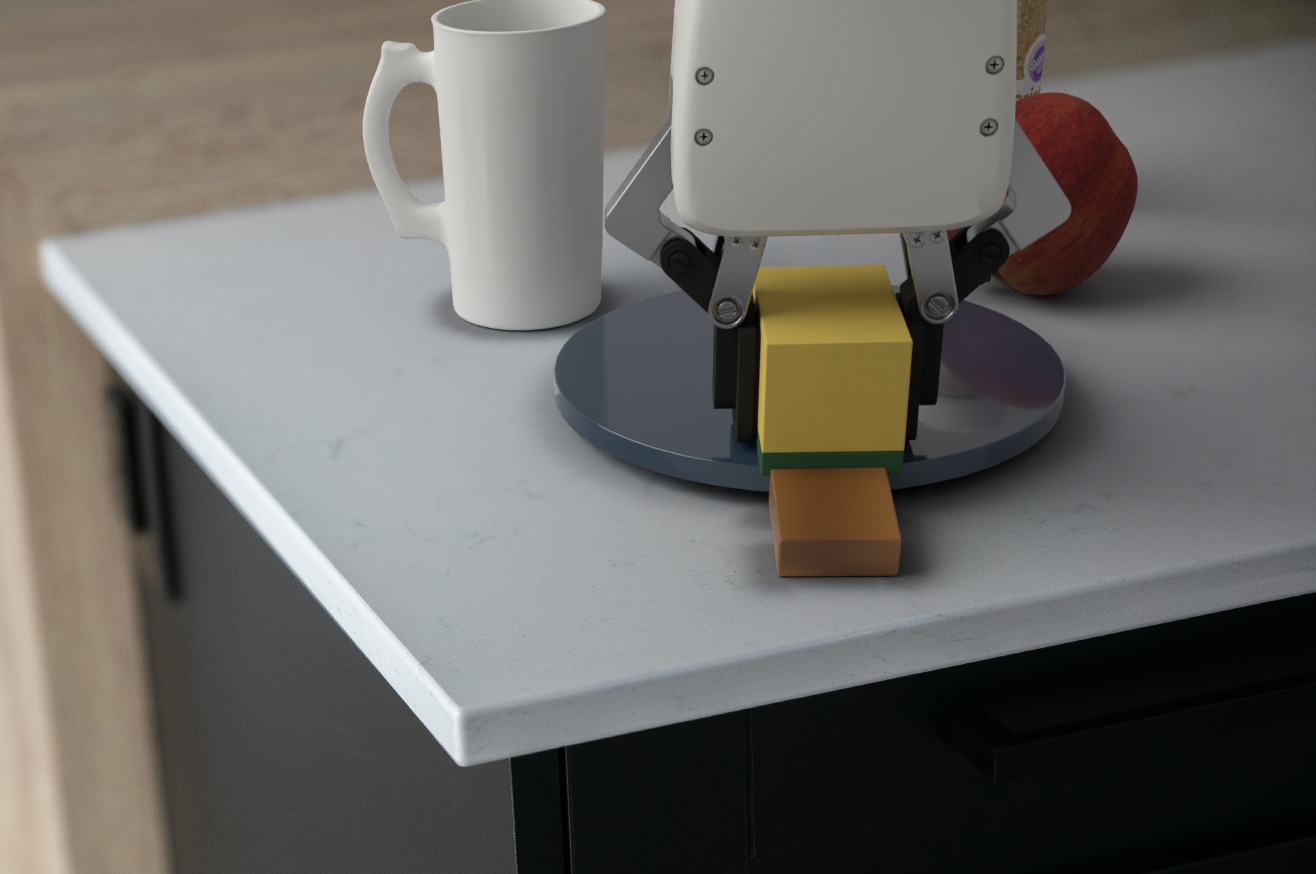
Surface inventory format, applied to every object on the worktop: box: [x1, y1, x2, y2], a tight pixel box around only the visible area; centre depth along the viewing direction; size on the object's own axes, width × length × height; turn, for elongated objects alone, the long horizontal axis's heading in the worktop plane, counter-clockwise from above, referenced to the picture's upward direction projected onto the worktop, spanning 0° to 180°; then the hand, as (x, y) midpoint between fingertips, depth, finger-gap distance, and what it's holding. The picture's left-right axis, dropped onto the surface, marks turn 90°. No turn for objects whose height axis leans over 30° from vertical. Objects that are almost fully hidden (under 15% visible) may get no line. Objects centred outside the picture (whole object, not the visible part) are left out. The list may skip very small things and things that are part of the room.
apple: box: [947, 91, 1139, 296], centre depth 74 cm, size 7×8×8 cm
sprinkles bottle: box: [1016, 0, 1049, 101], centre depth 83 cm, size 5×5×14 cm
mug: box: [362, 0, 607, 331], centre depth 76 cm, size 10×7×12 cm, turn 74°
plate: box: [553, 284, 1066, 493], centre depth 68 cm, size 18×18×2 cm
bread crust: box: [768, 468, 903, 577], centre depth 58 cm, size 4×4×1 cm
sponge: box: [753, 264, 913, 476], centre depth 61 cm, size 7×4×4 cm, turn 174°
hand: (821, 419), depth 62 cm, fingers closed on sponge, 4 cm apart
